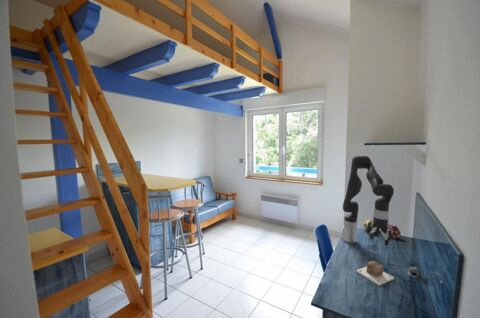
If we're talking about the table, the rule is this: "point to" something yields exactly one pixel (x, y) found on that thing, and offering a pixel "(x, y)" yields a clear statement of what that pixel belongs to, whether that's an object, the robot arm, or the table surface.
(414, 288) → the table surface
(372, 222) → the beige lumpy ball
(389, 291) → the table surface
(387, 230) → the robot arm
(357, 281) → the table surface
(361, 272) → the base plate
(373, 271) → the walnut cap block
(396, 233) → the toy fire truck
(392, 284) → the table surface
